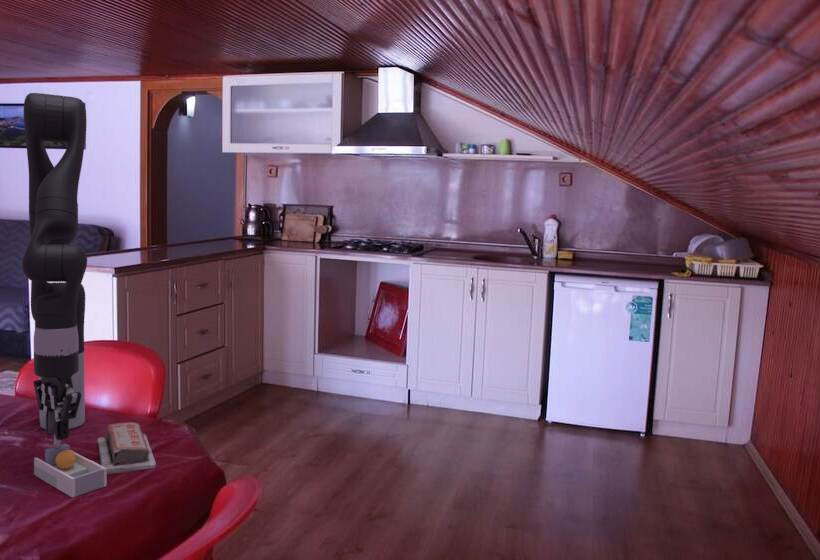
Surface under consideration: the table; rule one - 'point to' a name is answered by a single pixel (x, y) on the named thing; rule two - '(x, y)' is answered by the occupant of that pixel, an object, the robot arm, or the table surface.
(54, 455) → the striker
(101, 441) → the packaged product
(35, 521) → the table surface
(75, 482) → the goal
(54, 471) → the tray
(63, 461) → the ball
